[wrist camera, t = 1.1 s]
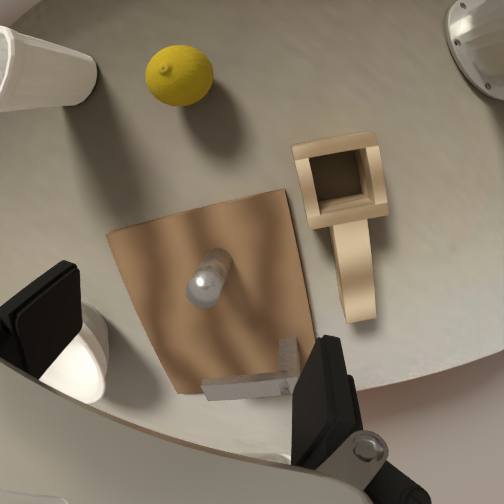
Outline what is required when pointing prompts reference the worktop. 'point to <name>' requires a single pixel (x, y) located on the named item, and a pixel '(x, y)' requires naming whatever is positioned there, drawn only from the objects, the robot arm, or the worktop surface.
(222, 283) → the ball
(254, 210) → the board
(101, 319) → the bowl
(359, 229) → the link
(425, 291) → the worktop surface
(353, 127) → the worktop surface
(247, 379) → the bracket
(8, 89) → the cup
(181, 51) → the lemon
